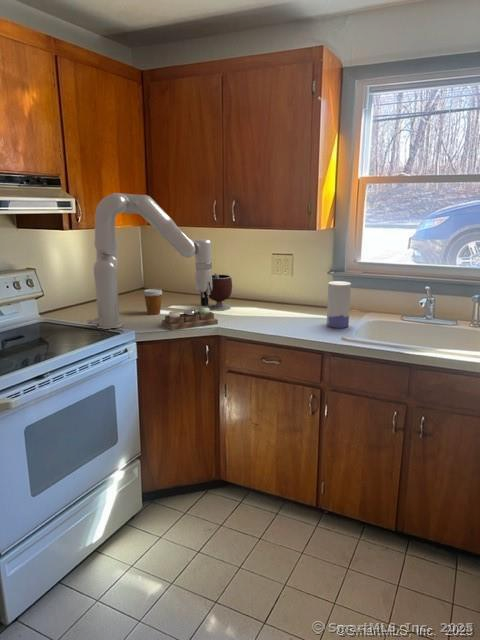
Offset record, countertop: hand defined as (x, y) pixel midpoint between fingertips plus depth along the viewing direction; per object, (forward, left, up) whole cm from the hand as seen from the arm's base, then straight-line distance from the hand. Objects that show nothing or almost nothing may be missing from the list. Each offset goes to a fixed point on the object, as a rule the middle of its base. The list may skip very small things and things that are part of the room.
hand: (204, 305), depth 223 cm
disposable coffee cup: (-16, +28, -8) cm, 33 cm away
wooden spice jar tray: (-8, 0, -8) cm, 11 cm away
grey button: (-8, 0, -4) cm, 9 cm away
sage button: (0, 0, -4) cm, 4 cm away
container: (+51, -35, -8) cm, 63 cm away
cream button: (-15, 0, -4) cm, 16 cm away
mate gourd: (+18, +22, -8) cm, 30 cm away
